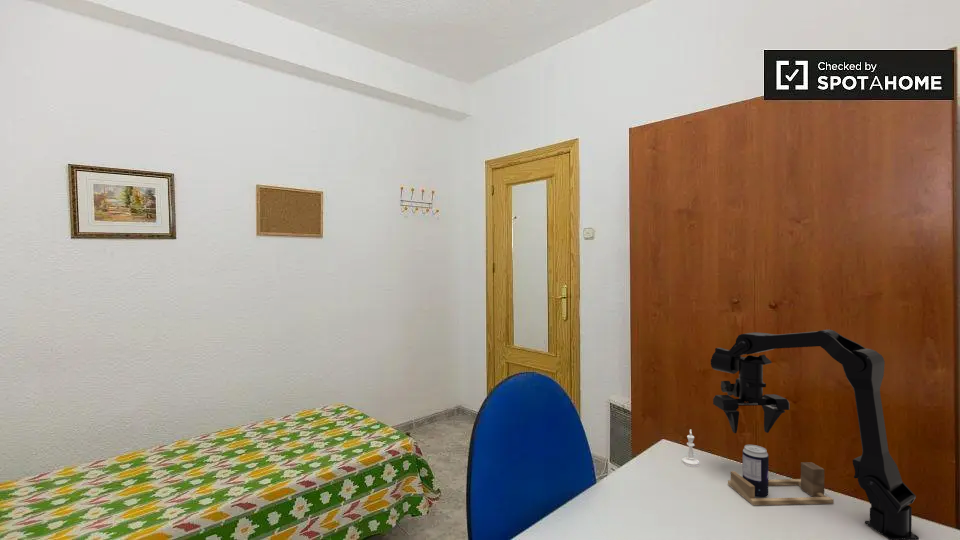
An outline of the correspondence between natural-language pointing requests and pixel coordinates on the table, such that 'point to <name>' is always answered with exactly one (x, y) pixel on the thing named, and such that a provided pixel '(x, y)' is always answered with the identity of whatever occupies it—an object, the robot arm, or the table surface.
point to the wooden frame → (809, 483)
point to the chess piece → (690, 453)
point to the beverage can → (756, 468)
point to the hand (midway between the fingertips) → (750, 432)
